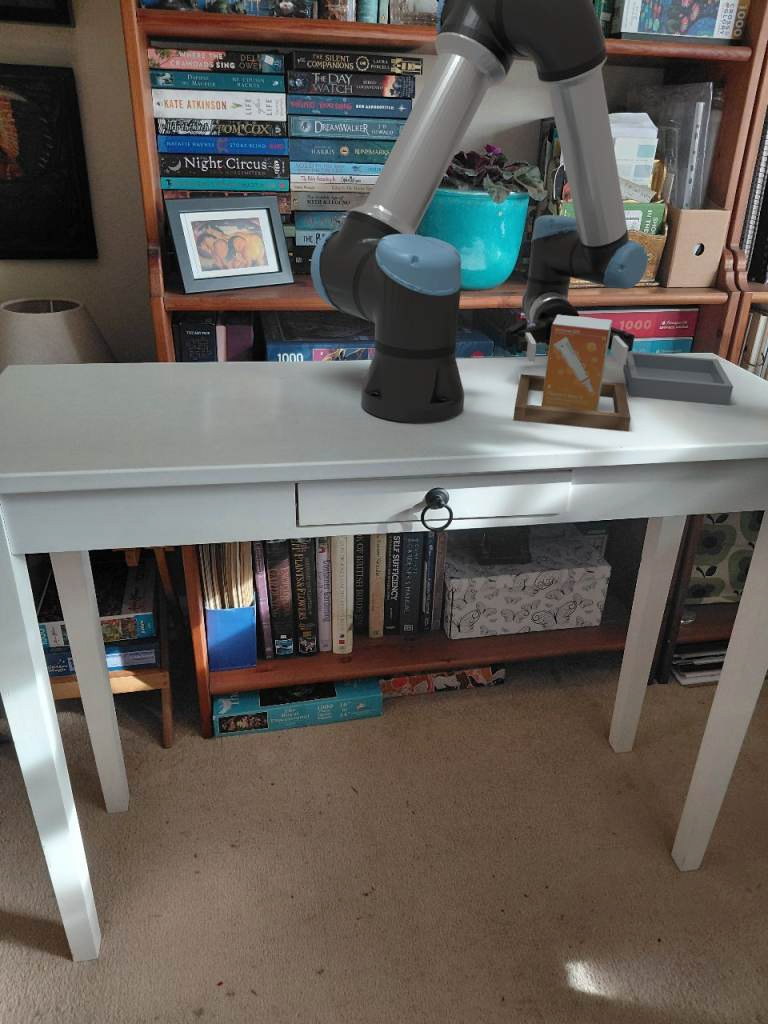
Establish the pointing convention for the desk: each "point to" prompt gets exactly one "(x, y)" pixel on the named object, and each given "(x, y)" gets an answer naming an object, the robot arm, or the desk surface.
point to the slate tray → (677, 378)
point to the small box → (576, 362)
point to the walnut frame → (573, 416)
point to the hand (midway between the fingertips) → (578, 354)
